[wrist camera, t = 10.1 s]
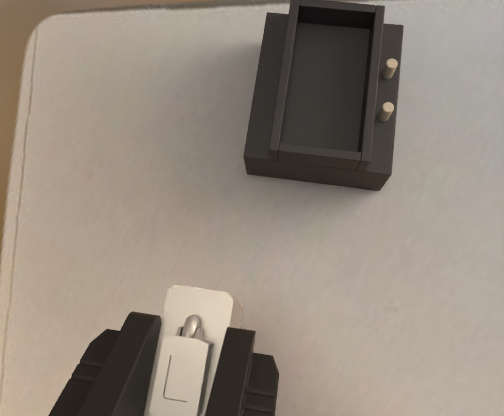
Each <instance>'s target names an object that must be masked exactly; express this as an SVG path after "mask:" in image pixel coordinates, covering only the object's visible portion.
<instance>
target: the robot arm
mask: <svg viewBox="0 0 504 416" xmlns="http://www.w3.org/2000/svg"><path fill="white" fill-rule="evenodd" d="M160 328H161V317H160V316H157V315H151V314H144V313H138V312H131V313H130V314H129V315H128V317H127V319H126V320H125V322H124V324H123V326H122V328H121V330H120V331H116V330H110V329H106V330H105V331H104V332H103V333H102V334H100V335H99V336H98V337H97V338H96V339H94V340H93V341H92V342H91V343H90V344H89V346H88V348H87V349H86V351H85V353H84V355H83V356H82V358H81V360H80V364H78V365H77V367H76V369H75V370H74V372H73V374H72V377H71V379H69V381H68V382H67V384H66V386H65V388H64V389H63V391H62V393H61V395H60V396H59V398H58V400H57V402H56V403H55V405H54V407H53V409H52V410H51V412H50V414H49V415H48V416H144V411H145V406H146V401H147V396H148V391H149V385H150V380H151V375H152V370H153V365H154V360H155V354H156V349H157V344H158V339H159V334H160ZM254 340H255V331H251V330H245V329H239V328H232V327H227V329H226V333H225V337H224V341H223V345H222V349H221V353H220V356H219V360H218V364H217V368H216V372H215V376H214V380H213V384H212V388H211V392H210V396H209V400H208V404H207V408H206V412H205V416H275V408H276V399H277V390H278V380H279V372H278V369H277V367H276V364H275V361H274V358H273V356H270V355H264V354H258V353H253V349H254Z"/></svg>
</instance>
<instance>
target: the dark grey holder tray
mask: <svg viewBox="0 0 504 416" xmlns="http://www.w3.org/2000/svg"><path fill="white" fill-rule="evenodd" d="M384 11H385V6H379V5H376V6H375V5H368V4H357V3H347V2H336V1H325V0H291V2H290V9H289V14H279V13H269V12H268V13H267V16H266V22H265V28H264V34H263V40H262V46H261V53H260V59H259V65H258V71H257V77H256V83H255V90H254V96H253V102H252V108H251V114H250V120H249V126H248V133H247V139H246V145H245V151H244V161H245V166H246V171H247V174H252V175H260V176H268V177H276V178H284V179H292V180H299V181H307V182H315V183H323V184H331V185H339V186H347V187H355V188H363V189H371V190H380V189H381V188H382V186H383V185H384V184H385V182H386V181H387V180H388V178H389V177H390V176H391V174H392V161H393V149H394V137H395V125H396V113H397V100H398V88H399V76H400V64H401V52H402V40H403V27H404V26H403V25H394V24H383V22H384Z"/></svg>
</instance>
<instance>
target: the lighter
mask: <svg viewBox="0 0 504 416" xmlns="http://www.w3.org/2000/svg"><path fill="white" fill-rule="evenodd" d="M242 312H243V306H242V305H241V304H240V302H239V301H238V300H237V299H235V298H234V297H233V296H232V295H230V294H229V293H228V292H222V291H215V290H208V289H202V288H195V287H189V286H182V285H174V286H173V287H172V288H170V289H169V290H168V292H167V297H166V302H165V308H164V313H163V318H162V323H161V328H160V334H159V339H158V344H157V349H156V354H155V360H154V365H153V370H152V375H151V380H150V385H149V391H148V396H147V401H146V406H145V411H144V416H205V412H206V408H207V404H208V400H209V396H210V392H211V388H212V384H213V380H214V376H215V372H216V368H217V364H218V360H219V356H220V353H221V349H222V345H223V341H224V337H225V333H226V329H227V327H232V328H239V329H240V326H241V319H242Z"/></svg>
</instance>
